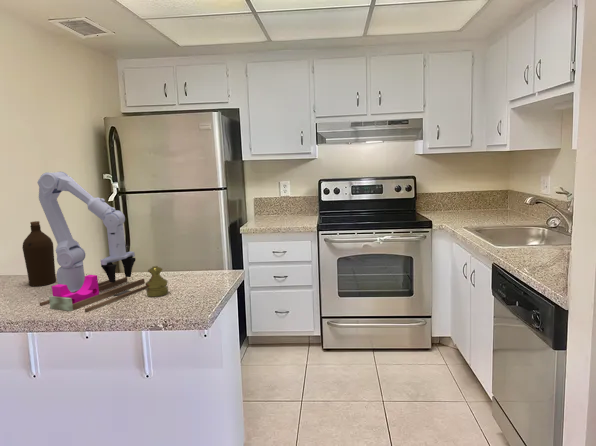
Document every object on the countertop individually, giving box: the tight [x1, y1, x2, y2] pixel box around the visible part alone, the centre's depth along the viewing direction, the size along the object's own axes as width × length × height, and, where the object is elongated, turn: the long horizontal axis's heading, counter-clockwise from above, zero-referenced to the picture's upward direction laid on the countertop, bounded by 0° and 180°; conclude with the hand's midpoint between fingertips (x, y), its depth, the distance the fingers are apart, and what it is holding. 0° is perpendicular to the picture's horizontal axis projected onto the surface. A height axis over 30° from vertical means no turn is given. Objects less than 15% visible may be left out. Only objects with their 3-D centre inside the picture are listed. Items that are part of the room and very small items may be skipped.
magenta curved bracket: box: [51, 274, 100, 304], centre depth 154 cm, size 15×6×8 cm, turn 156°
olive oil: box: [22, 220, 57, 287], centre depth 180 cm, size 11×11×25 cm
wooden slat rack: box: [39, 276, 147, 313], centre depth 161 cm, size 22×33×4 cm
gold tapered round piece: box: [145, 265, 169, 298], centre depth 158 cm, size 7×7×10 cm
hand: (120, 279), depth 169 cm, fingers open, 7 cm apart
